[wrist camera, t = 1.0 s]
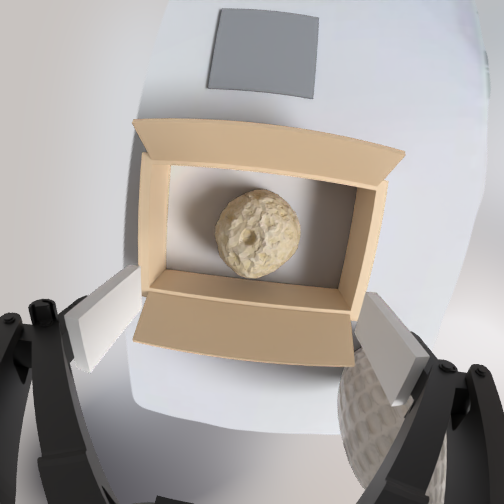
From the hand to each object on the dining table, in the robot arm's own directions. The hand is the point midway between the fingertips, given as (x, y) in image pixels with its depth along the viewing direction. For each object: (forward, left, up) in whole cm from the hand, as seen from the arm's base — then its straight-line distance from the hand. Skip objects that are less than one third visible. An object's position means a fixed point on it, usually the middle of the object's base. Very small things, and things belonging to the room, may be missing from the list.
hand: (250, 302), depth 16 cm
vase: (+18, +19, -18) cm, 32 cm away
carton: (0, 0, -18) cm, 18 cm away
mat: (-22, -1, -18) cm, 29 cm away
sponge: (0, 0, -19) cm, 19 cm away
